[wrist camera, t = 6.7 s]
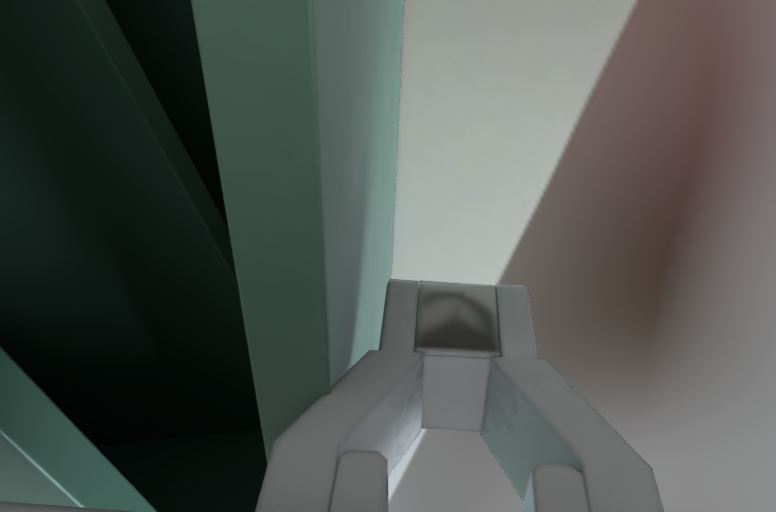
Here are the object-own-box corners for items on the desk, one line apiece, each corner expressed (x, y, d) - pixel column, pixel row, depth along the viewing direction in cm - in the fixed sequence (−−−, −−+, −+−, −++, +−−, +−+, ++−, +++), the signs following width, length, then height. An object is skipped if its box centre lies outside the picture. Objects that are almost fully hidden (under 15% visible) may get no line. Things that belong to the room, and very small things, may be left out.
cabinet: (155, -262, 17) (-818, -317, 4) (366, 273, 29) (295, 706, 16) (-194, -120, 20) (-1409, 118, 7) (126, 313, 32) (-100, 705, 19)
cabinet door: (558, -305, 16) (1037, -565, 3) (469, 279, 28) (485, 715, 16) (380, -312, 16) (90, -583, 3) (370, 272, 29) (304, 697, 16)
